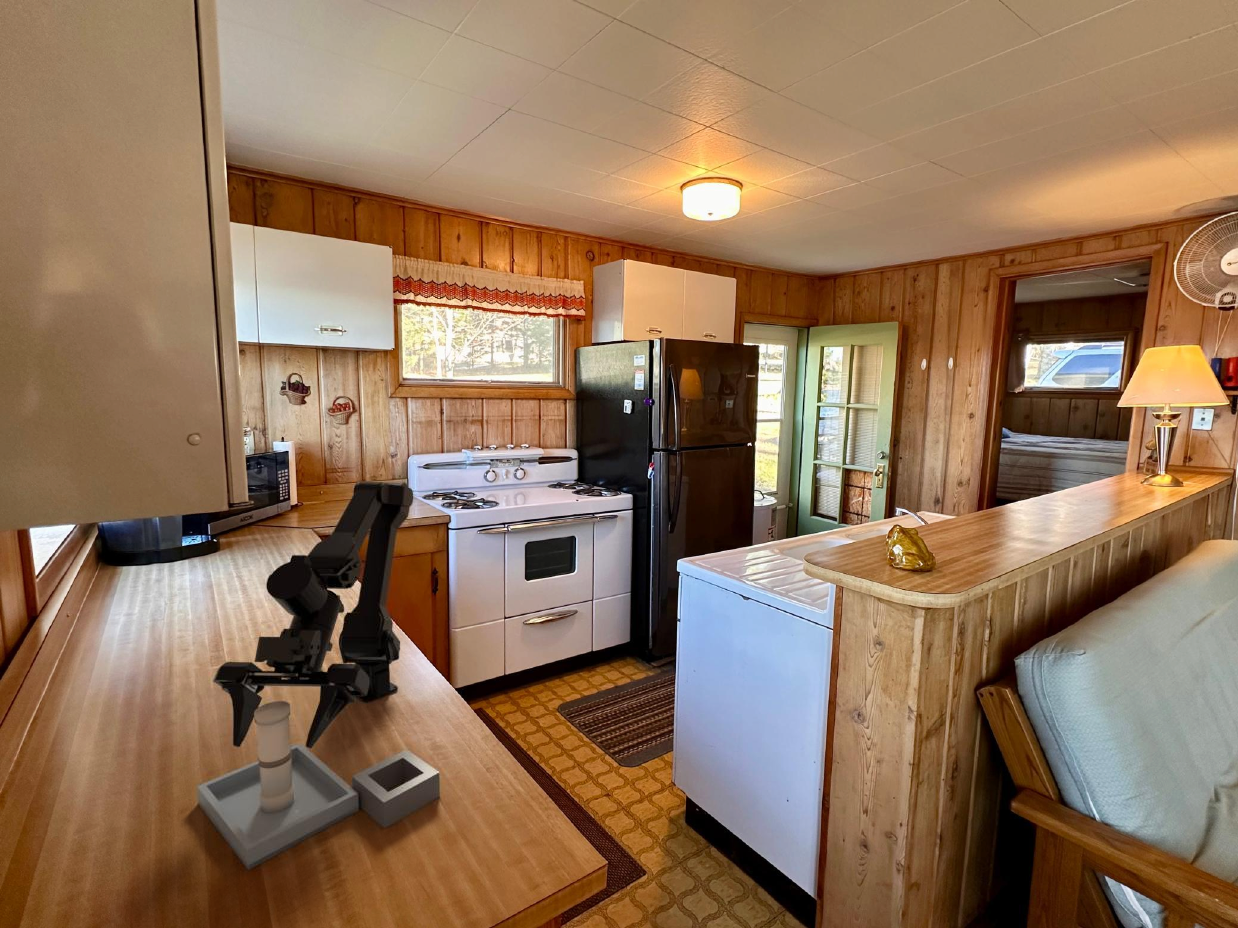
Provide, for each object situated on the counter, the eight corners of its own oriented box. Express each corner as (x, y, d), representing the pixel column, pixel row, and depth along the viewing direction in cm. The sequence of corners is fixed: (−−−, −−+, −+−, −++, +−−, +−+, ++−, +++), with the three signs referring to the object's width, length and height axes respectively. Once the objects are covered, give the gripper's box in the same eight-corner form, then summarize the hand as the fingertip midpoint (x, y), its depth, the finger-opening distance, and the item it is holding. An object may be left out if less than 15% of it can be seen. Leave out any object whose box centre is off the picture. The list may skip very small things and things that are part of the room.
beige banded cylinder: (262, 797, 80) (256, 704, 79) (296, 789, 82) (291, 698, 80) (258, 816, 77) (251, 720, 75) (293, 808, 78) (288, 713, 77)
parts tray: (198, 803, 80) (196, 785, 79) (300, 758, 90) (300, 742, 89) (248, 869, 69) (247, 849, 69) (358, 810, 79) (358, 792, 79)
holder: (352, 800, 81) (352, 775, 81) (407, 771, 87) (406, 749, 87) (384, 828, 76) (383, 802, 76) (439, 796, 82) (439, 772, 82)
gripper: (217, 604, 81) (162, 728, 71) (358, 607, 81) (322, 731, 71) (255, 637, 90) (211, 751, 80) (382, 639, 90) (353, 753, 80)
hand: (272, 746), depth 78 cm, fingers open, 9 cm apart
